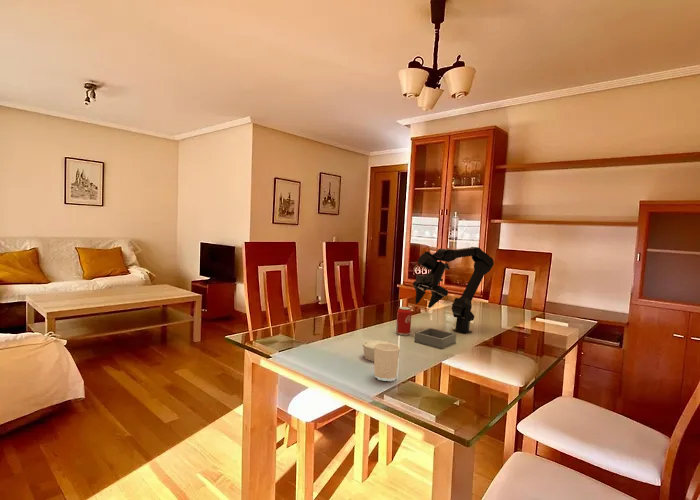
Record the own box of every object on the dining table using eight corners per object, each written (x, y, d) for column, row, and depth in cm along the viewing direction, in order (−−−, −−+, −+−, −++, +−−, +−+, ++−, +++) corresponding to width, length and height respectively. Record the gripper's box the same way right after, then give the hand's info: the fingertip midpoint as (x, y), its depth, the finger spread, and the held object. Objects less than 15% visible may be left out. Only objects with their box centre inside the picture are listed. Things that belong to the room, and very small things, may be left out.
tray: (429, 336, 168) (429, 327, 168) (455, 343, 160) (456, 334, 160) (414, 342, 159) (415, 332, 158) (441, 349, 150) (442, 339, 150)
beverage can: (409, 336, 166) (411, 309, 166) (395, 335, 168) (397, 308, 167) (410, 333, 173) (412, 307, 172) (396, 331, 174) (398, 305, 173)
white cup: (370, 373, 121) (372, 342, 121) (395, 373, 122) (396, 343, 121) (374, 383, 113) (376, 350, 113) (400, 383, 114) (402, 351, 114)
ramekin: (362, 352, 141) (362, 338, 141) (391, 354, 141) (392, 340, 141) (362, 363, 130) (362, 348, 130) (394, 365, 130) (395, 350, 130)
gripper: (411, 264, 176) (397, 294, 173) (437, 268, 159) (422, 302, 157) (427, 274, 181) (414, 304, 178) (454, 279, 164) (440, 312, 162)
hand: (422, 305), depth 169 cm, fingers open, 9 cm apart
